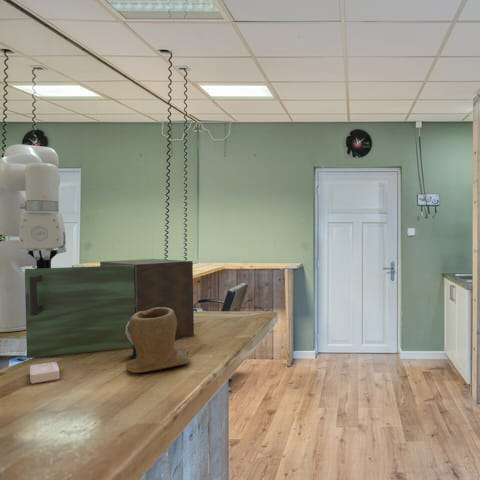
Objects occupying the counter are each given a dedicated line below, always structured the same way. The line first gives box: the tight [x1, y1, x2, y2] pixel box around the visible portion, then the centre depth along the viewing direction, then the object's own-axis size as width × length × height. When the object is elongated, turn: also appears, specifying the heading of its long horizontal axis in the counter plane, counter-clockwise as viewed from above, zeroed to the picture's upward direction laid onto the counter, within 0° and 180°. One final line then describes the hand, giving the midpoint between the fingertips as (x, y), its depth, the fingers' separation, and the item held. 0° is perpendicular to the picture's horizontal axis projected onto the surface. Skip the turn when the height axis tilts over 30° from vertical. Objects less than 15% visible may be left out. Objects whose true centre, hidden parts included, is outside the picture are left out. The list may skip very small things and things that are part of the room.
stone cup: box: [124, 307, 190, 374], centre depth 113 cm, size 15×12×15 cm
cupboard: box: [99, 258, 195, 340], centre depth 151 cm, size 18×26×24 cm
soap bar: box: [29, 361, 60, 385], centre depth 107 cm, size 5×9×2 cm, turn 37°
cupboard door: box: [24, 265, 135, 359], centre depth 126 cm, size 8×26×24 cm, turn 114°
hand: (44, 274), depth 128 cm, fingers closed
